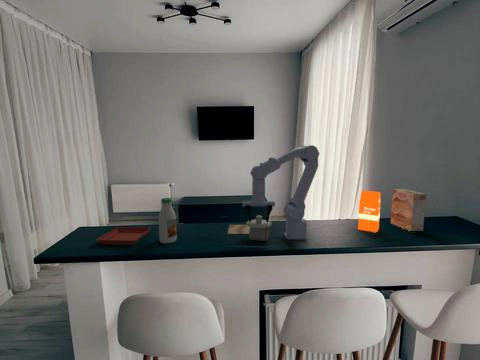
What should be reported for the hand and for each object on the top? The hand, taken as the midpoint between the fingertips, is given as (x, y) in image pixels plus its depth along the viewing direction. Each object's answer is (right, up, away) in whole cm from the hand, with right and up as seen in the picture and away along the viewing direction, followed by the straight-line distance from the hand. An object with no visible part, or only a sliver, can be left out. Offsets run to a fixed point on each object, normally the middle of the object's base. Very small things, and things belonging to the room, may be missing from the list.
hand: (258, 221), depth 116 cm
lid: (0, -1, +1) cm, 1 cm away
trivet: (-8, -7, +14) cm, 18 cm away
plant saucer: (-63, -10, +4) cm, 64 cm away
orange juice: (+59, -7, +16) cm, 61 cm away
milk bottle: (-42, -9, +2) cm, 43 cm away
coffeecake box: (+80, -6, +18) cm, 82 cm away
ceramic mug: (0, -9, +2) cm, 9 cm away
